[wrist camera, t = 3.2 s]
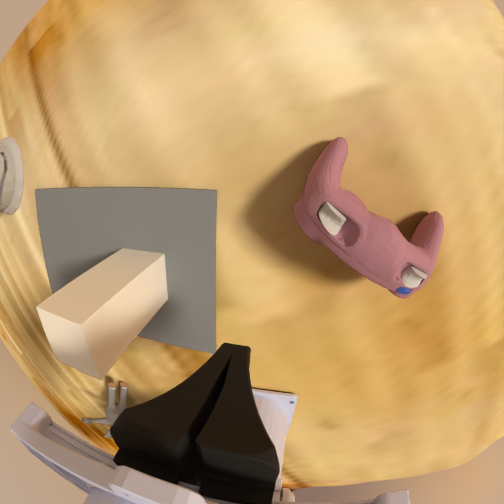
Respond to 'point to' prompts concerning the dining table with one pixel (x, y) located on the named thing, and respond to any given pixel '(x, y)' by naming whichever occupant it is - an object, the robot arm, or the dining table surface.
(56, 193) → the slate mat
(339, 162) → the video game controller
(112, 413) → the grey toy figure
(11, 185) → the french press
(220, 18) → the dining table surface
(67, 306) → the cream block
